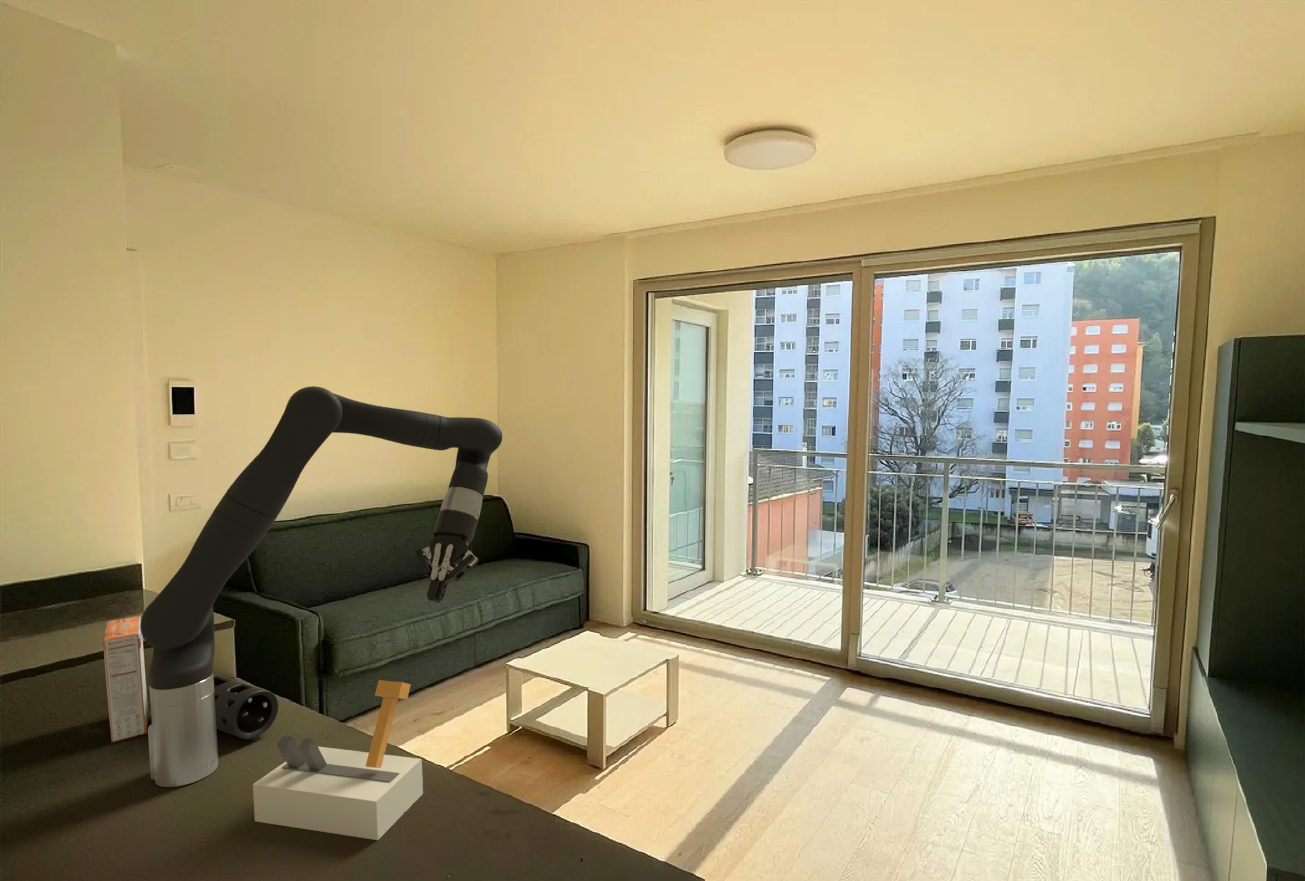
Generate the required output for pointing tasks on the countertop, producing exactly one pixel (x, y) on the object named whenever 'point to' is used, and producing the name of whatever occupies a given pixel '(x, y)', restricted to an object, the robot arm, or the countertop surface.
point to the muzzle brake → (243, 708)
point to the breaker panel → (336, 790)
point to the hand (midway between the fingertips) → (433, 601)
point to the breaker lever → (385, 718)
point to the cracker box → (125, 678)
